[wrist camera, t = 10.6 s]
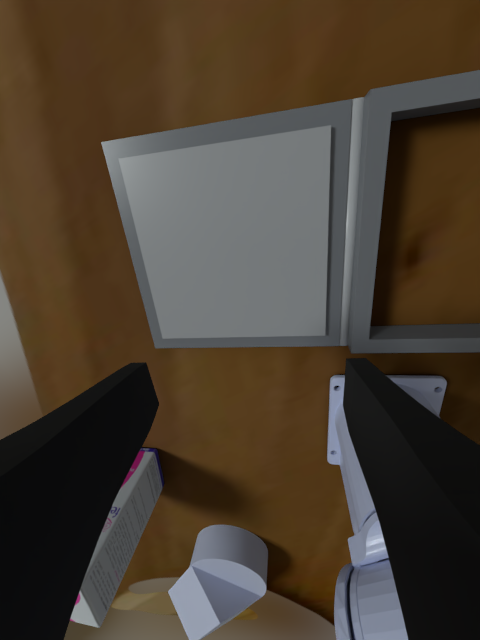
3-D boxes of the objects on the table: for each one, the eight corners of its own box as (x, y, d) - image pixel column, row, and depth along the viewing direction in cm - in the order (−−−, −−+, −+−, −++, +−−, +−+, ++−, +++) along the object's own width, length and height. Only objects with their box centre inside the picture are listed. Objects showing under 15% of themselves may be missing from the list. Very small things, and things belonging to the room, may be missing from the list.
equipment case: (588, 335, 17) (624, 351, 15) (160, 342, 22) (149, 354, 20) (725, 41, 11) (809, 11, 10) (111, 145, 17) (90, 138, 15)
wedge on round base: (235, 585, 37) (281, 545, 32) (226, 660, 31) (280, 627, 26) (177, 559, 37) (213, 514, 31) (156, 630, 31) (195, 590, 25)
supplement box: (157, 446, 28) (81, 592, 17) (165, 483, 30) (103, 631, 20) (106, 440, 29) (5, 575, 18) (118, 477, 31) (35, 615, 21)
